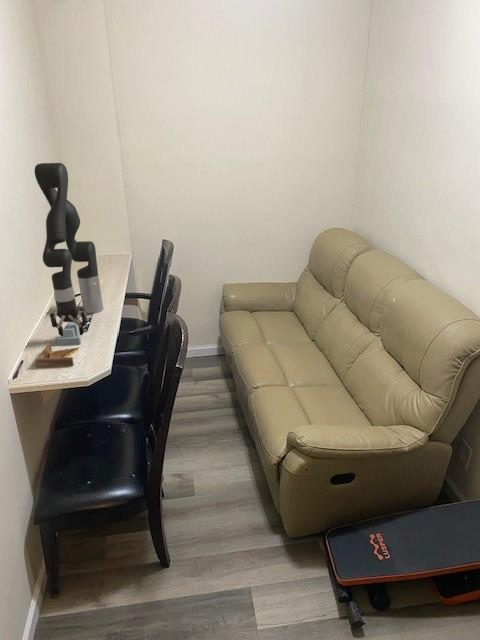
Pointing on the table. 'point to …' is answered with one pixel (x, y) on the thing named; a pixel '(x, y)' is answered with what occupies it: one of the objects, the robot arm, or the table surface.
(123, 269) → the table surface
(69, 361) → the corner fence
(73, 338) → the grey inverted t block
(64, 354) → the shard
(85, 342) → the table surface
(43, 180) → the robot arm
